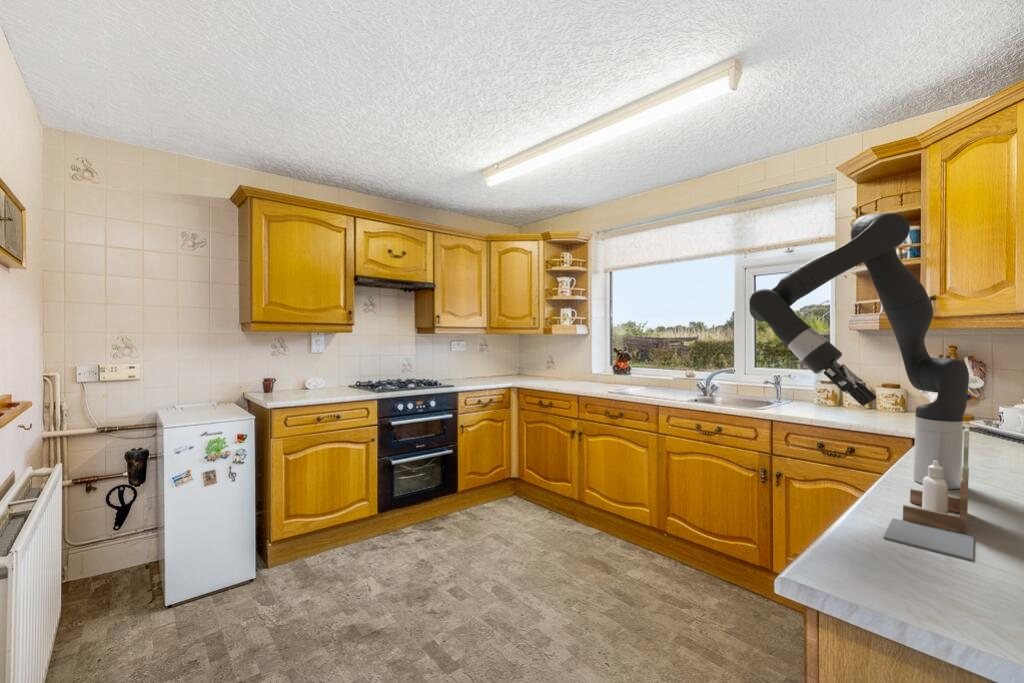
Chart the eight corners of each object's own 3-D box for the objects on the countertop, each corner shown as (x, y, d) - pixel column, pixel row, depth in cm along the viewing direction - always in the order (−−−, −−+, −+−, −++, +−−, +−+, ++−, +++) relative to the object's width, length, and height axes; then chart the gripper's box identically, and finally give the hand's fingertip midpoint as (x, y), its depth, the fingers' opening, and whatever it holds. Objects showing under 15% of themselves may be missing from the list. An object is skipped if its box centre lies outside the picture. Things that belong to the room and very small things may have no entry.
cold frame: (910, 501, 108) (912, 416, 108) (967, 513, 101) (970, 422, 101) (902, 520, 97) (905, 425, 96) (966, 534, 90) (969, 432, 90)
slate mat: (892, 519, 97) (892, 518, 97) (973, 538, 88) (973, 536, 88) (883, 538, 88) (883, 536, 88) (973, 561, 79) (973, 558, 79)
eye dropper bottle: (949, 516, 99) (951, 460, 99) (946, 522, 96) (947, 465, 96) (923, 510, 103) (924, 456, 102) (918, 516, 99) (920, 460, 99)
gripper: (820, 339, 108) (881, 393, 100) (833, 340, 118) (889, 389, 110) (793, 361, 112) (850, 415, 104) (808, 359, 122) (861, 408, 114)
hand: (870, 401), depth 107 cm, fingers open, 8 cm apart
